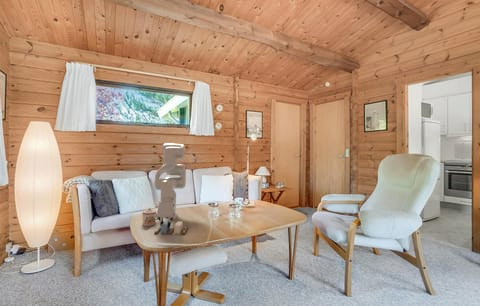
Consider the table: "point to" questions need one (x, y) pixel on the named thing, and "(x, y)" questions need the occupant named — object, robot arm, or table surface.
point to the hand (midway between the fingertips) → (165, 227)
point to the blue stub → (164, 227)
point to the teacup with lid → (149, 217)
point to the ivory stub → (178, 227)
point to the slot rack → (171, 231)
